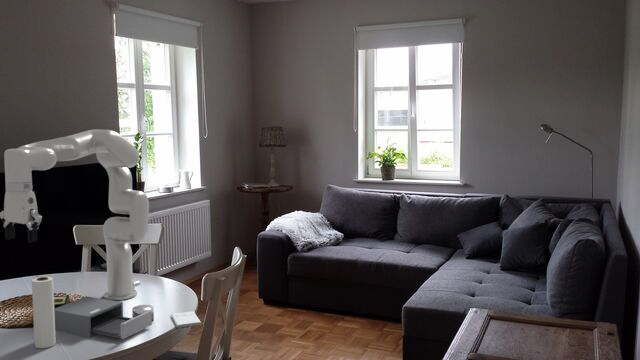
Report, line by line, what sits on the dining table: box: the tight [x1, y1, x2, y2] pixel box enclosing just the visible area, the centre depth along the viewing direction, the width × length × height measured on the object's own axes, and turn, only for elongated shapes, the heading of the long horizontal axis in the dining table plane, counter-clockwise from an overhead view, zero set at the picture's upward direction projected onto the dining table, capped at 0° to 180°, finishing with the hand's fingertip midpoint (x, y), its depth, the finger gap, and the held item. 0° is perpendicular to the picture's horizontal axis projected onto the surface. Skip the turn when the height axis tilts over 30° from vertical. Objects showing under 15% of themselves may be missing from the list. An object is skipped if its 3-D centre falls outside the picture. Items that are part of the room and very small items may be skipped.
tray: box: [91, 311, 153, 340], centre depth 197 cm, size 14×17×5 cm
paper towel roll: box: [31, 275, 57, 349], centre depth 184 cm, size 7×6×21 cm
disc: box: [131, 304, 155, 316], centre depth 205 cm, size 7×7×2 cm
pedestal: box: [131, 312, 155, 323], centre depth 205 cm, size 5×5×4 cm
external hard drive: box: [170, 310, 202, 329], centre depth 208 cm, size 2×8×12 cm
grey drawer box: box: [54, 296, 124, 338], centre depth 201 cm, size 16×16×7 cm
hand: (21, 240), depth 190 cm, fingers open, 9 cm apart
